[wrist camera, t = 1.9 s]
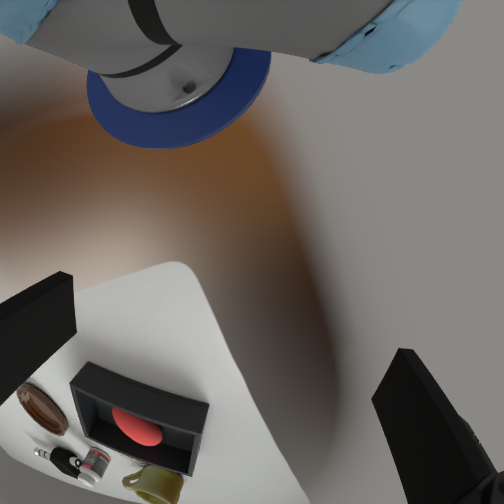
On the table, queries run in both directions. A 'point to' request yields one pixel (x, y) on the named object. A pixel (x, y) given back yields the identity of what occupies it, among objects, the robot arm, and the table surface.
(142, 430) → the stress ball
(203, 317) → the table surface
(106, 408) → the bin
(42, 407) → the plate
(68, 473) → the audio adapter
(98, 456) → the pill bottle
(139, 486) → the mug
